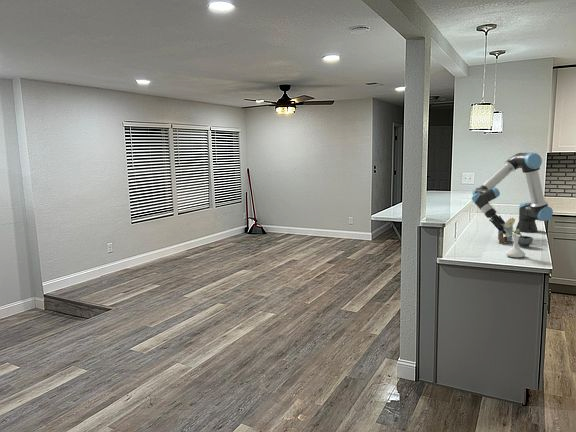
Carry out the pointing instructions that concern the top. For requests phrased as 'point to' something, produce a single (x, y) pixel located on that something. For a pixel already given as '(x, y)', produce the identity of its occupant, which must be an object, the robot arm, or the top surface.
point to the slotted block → (507, 231)
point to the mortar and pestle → (524, 241)
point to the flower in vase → (515, 250)
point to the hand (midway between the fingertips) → (510, 236)
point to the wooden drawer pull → (502, 239)
